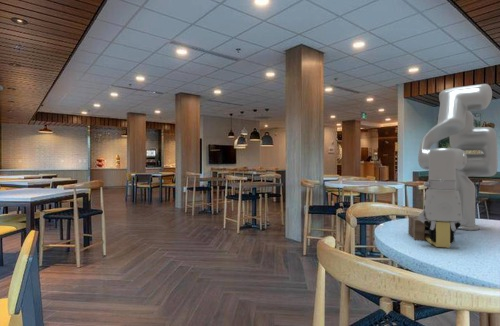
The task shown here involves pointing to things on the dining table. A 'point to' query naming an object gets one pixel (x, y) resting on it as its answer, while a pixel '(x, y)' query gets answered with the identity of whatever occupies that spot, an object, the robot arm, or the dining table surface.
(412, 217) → the dispenser
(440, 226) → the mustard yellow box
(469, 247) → the dining table surface
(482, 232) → the dining table surface
